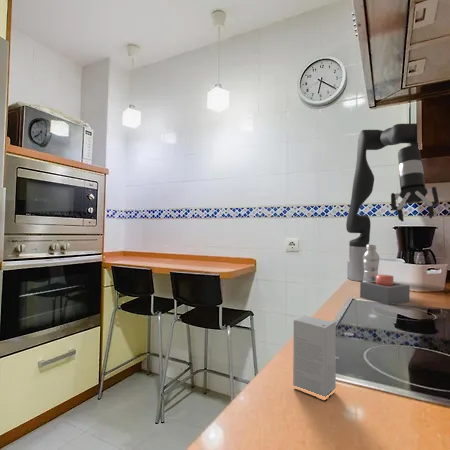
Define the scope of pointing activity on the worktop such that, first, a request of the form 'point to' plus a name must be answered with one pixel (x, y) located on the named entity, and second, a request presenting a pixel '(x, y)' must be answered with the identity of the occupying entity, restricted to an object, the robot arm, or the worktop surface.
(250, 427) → the worktop surface
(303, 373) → the skincare box
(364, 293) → the button box
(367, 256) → the plastic bottle
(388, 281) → the button
